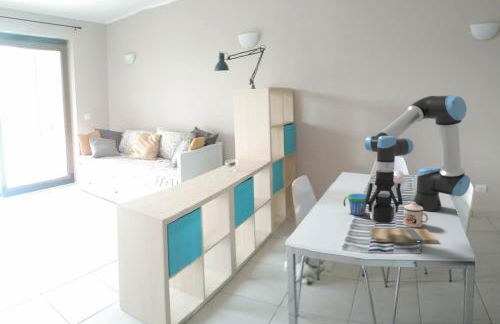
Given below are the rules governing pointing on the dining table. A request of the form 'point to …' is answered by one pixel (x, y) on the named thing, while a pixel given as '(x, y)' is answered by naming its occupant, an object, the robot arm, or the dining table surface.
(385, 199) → the ink bottle
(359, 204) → the snack cup
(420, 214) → the teacup with lid
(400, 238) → the plywood board
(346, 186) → the dining table surface
